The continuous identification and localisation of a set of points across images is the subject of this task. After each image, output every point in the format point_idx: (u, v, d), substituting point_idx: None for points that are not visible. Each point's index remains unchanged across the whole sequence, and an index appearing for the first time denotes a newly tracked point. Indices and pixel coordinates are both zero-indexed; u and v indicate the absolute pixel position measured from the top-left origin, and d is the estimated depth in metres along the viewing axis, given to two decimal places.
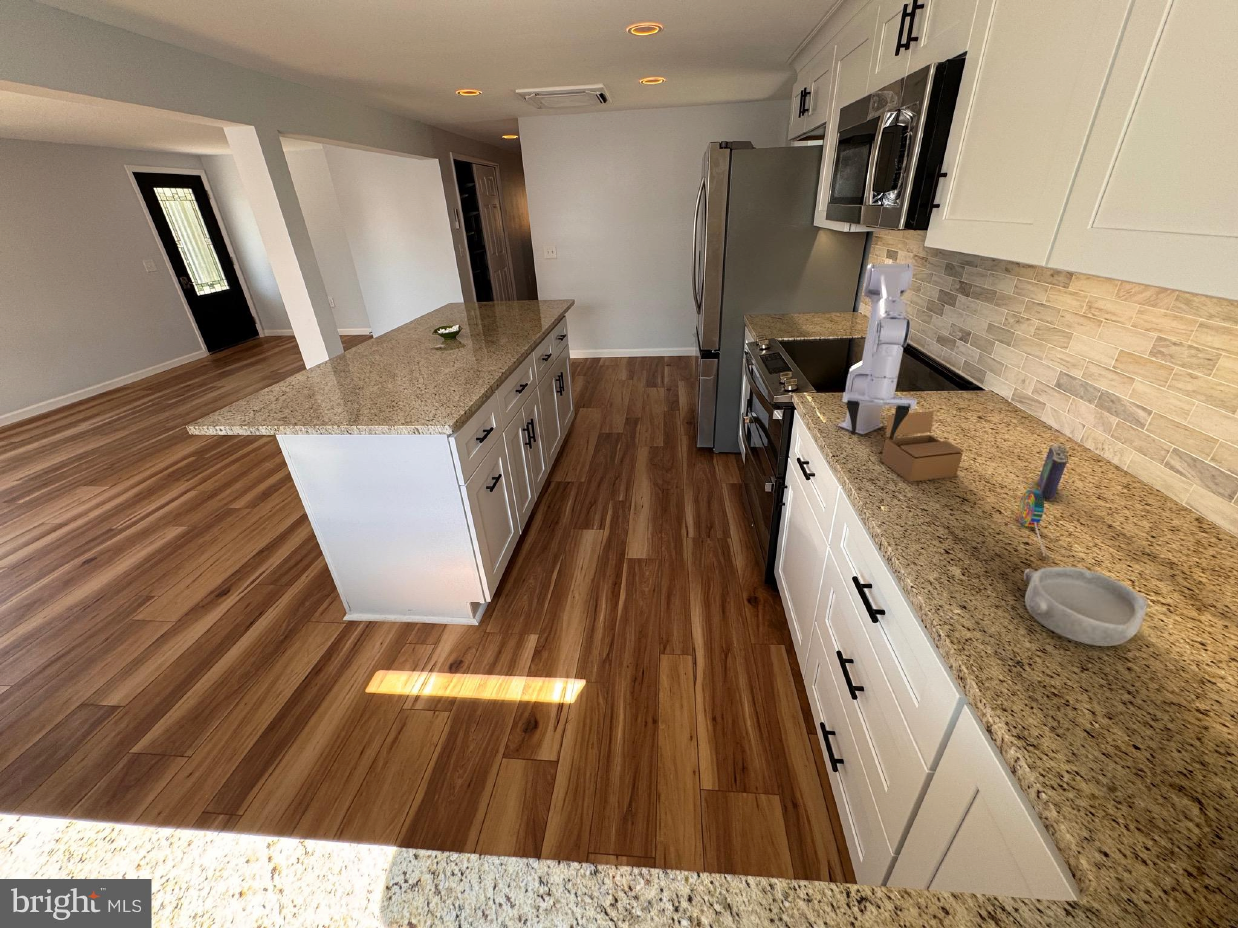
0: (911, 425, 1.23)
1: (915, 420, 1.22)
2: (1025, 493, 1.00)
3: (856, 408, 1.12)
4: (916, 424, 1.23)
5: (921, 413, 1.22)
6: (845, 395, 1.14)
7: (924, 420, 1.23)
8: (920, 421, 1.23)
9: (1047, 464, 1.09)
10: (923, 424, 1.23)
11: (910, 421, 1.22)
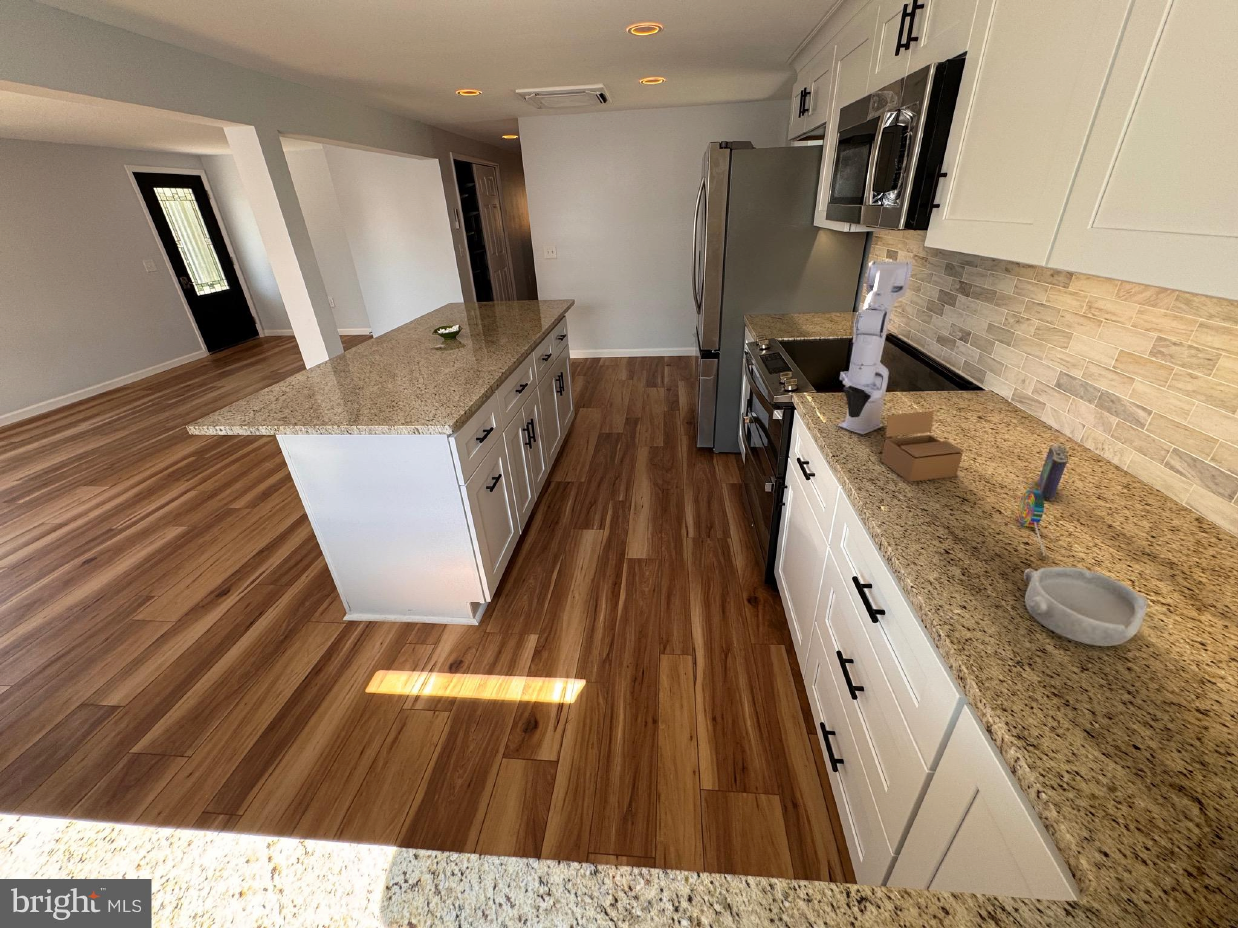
0: (911, 425, 1.23)
1: (915, 420, 1.22)
2: (1025, 493, 1.00)
3: (846, 391, 1.23)
4: (916, 424, 1.23)
5: (921, 413, 1.22)
6: (841, 374, 1.27)
7: (924, 420, 1.23)
8: (920, 421, 1.23)
9: (1047, 464, 1.09)
10: (923, 424, 1.23)
11: (910, 421, 1.22)
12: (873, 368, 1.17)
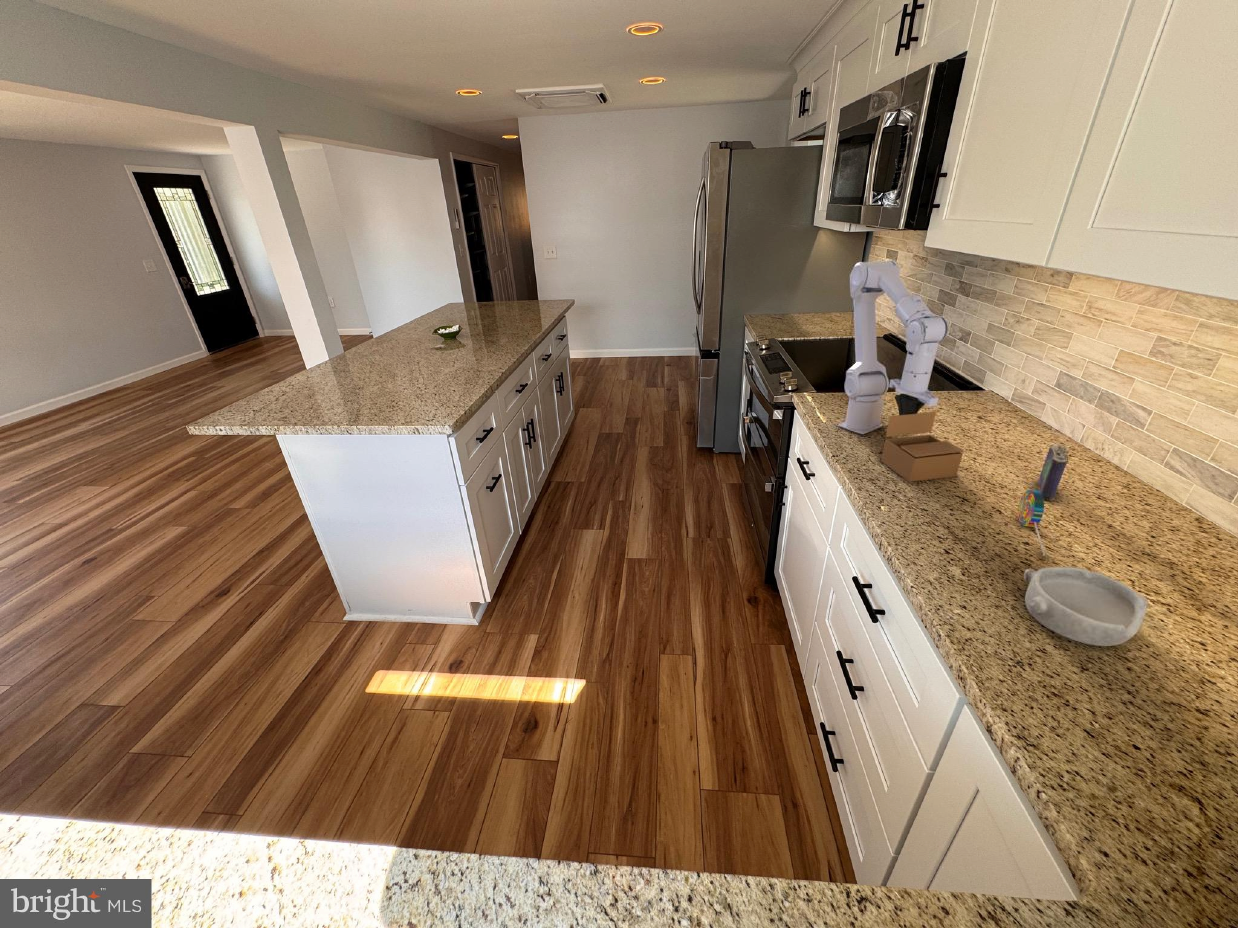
0: (912, 426, 1.22)
1: (916, 421, 1.22)
2: (1025, 493, 1.00)
3: (899, 399, 1.22)
4: (917, 425, 1.23)
5: (923, 414, 1.21)
6: (891, 381, 1.26)
7: (925, 421, 1.22)
8: (921, 422, 1.22)
9: (1048, 464, 1.09)
10: (924, 425, 1.23)
11: (911, 422, 1.22)
12: (928, 376, 1.16)
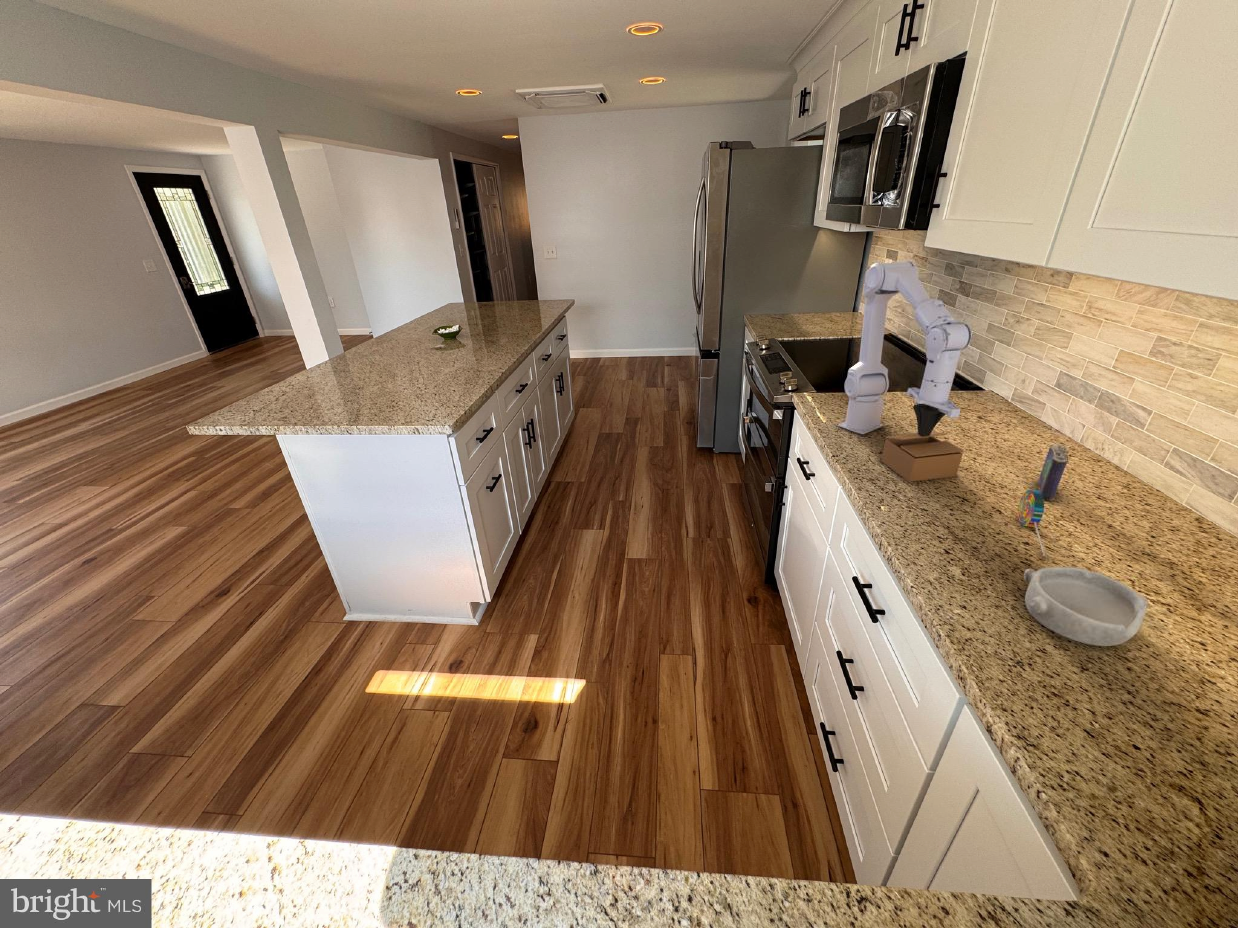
0: None
1: None
2: (1025, 493, 1.00)
3: (917, 409, 1.16)
4: None
5: None
6: (909, 390, 1.20)
7: None
8: None
9: (1047, 464, 1.09)
10: None
11: None
12: (949, 385, 1.10)
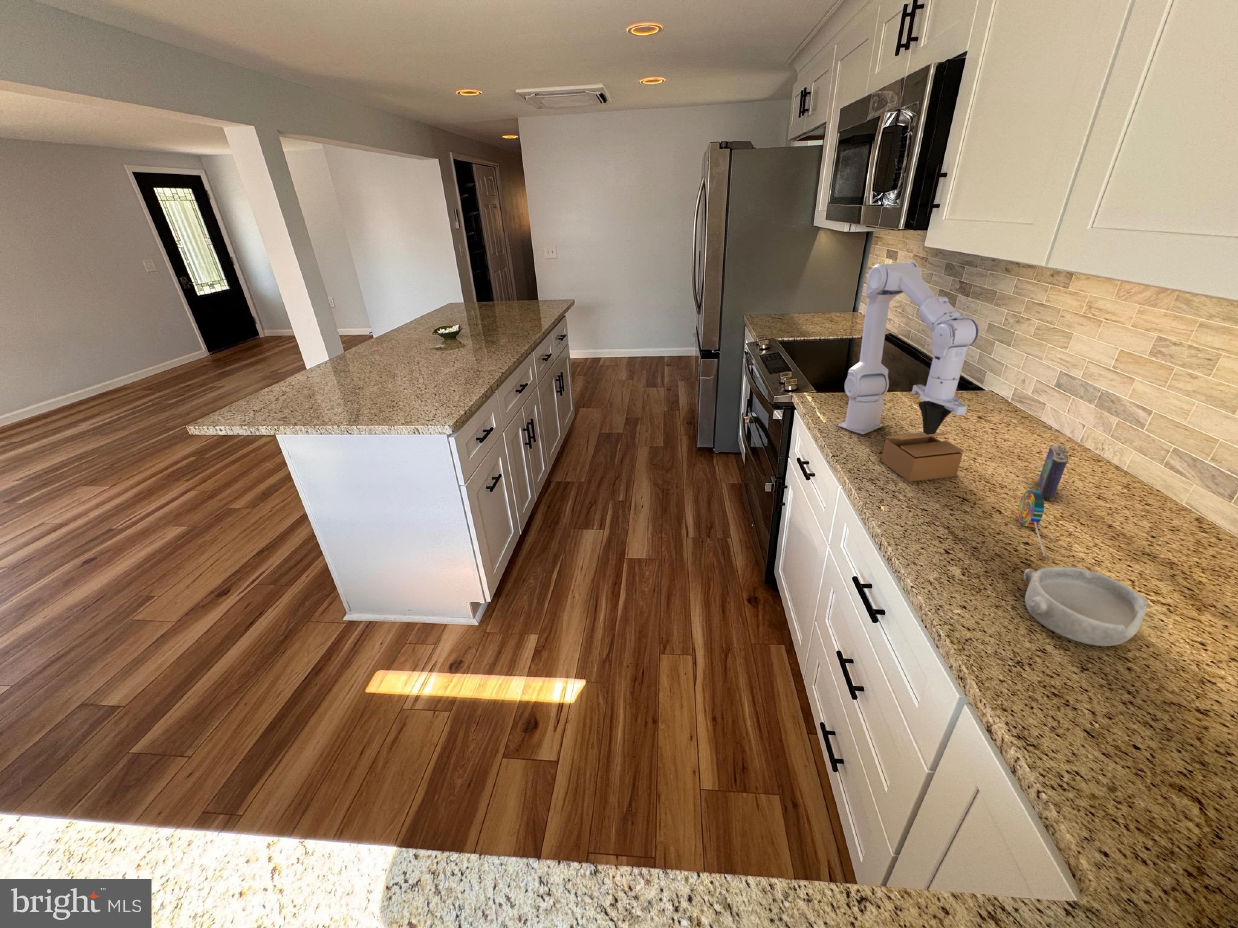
0: None
1: None
2: (1025, 493, 1.00)
3: (923, 406, 1.14)
4: None
5: None
6: (914, 387, 1.18)
7: None
8: None
9: (1047, 464, 1.09)
10: None
11: None
12: (956, 382, 1.08)
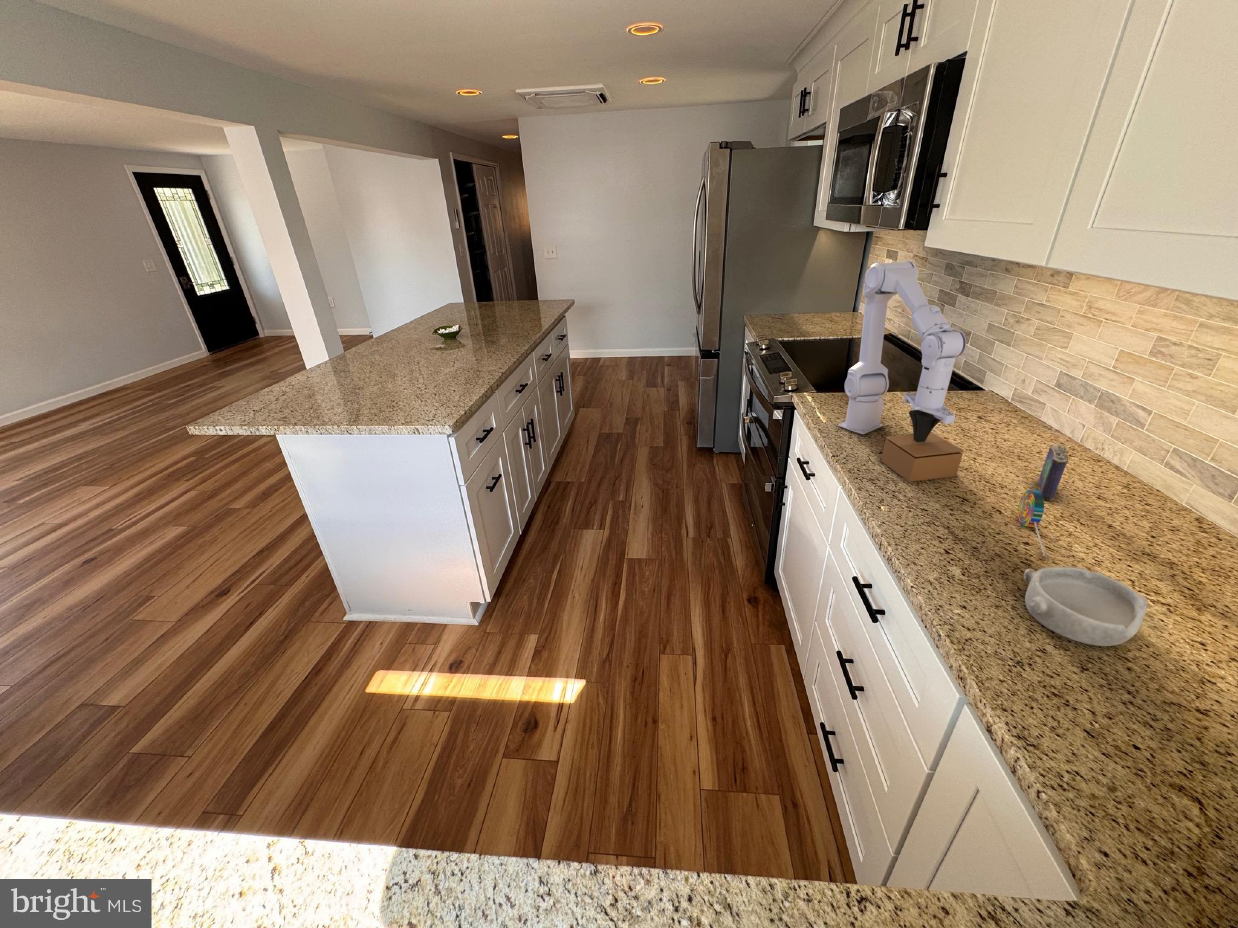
0: None
1: None
2: (1025, 493, 1.00)
3: (913, 415, 1.17)
4: None
5: None
6: (905, 396, 1.22)
7: None
8: None
9: (1047, 464, 1.09)
10: None
11: None
12: (944, 392, 1.12)
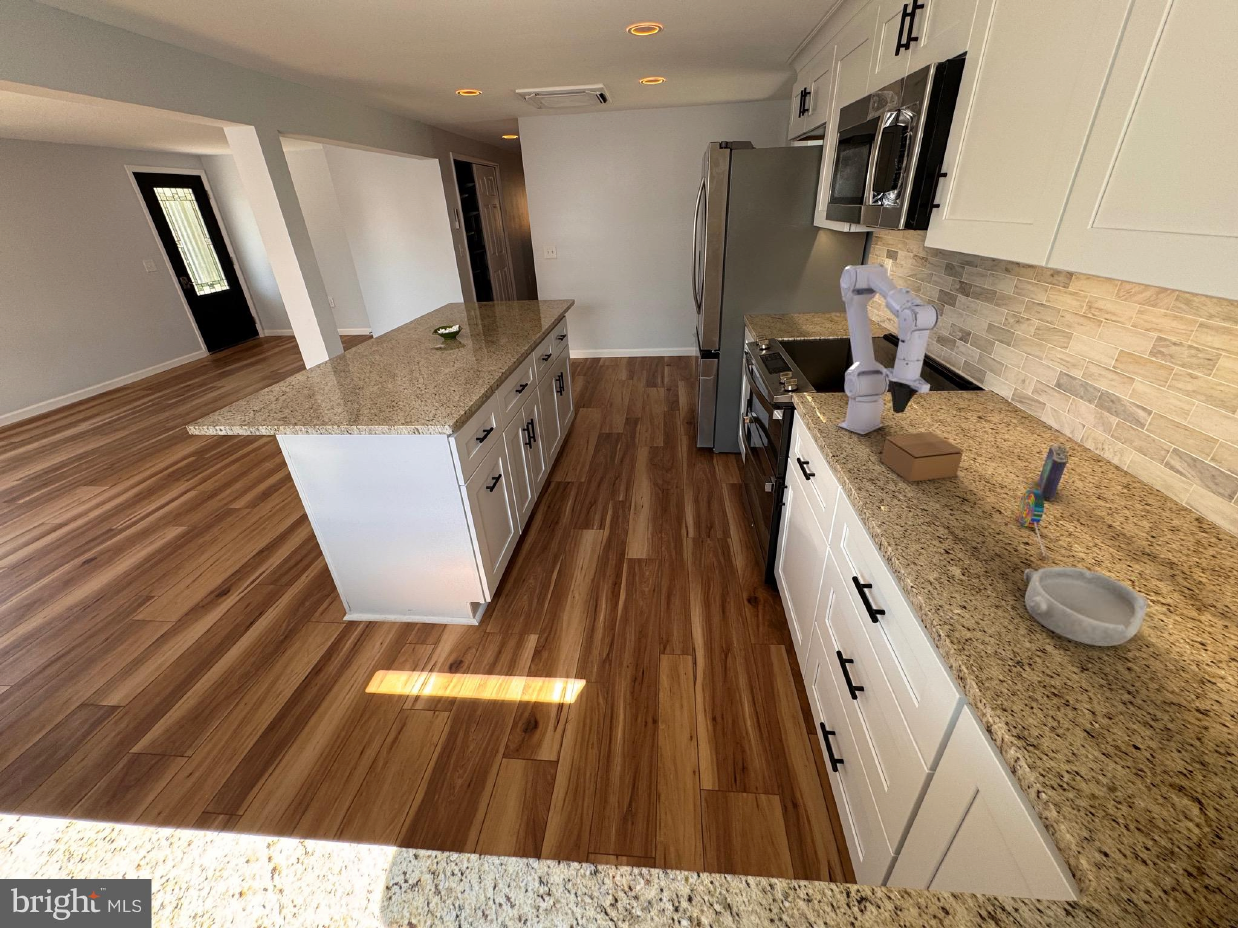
0: None
1: None
2: (1025, 493, 1.00)
3: (892, 387, 1.24)
4: None
5: None
6: (884, 370, 1.28)
7: None
8: None
9: (1047, 464, 1.09)
10: None
11: None
12: (920, 363, 1.18)
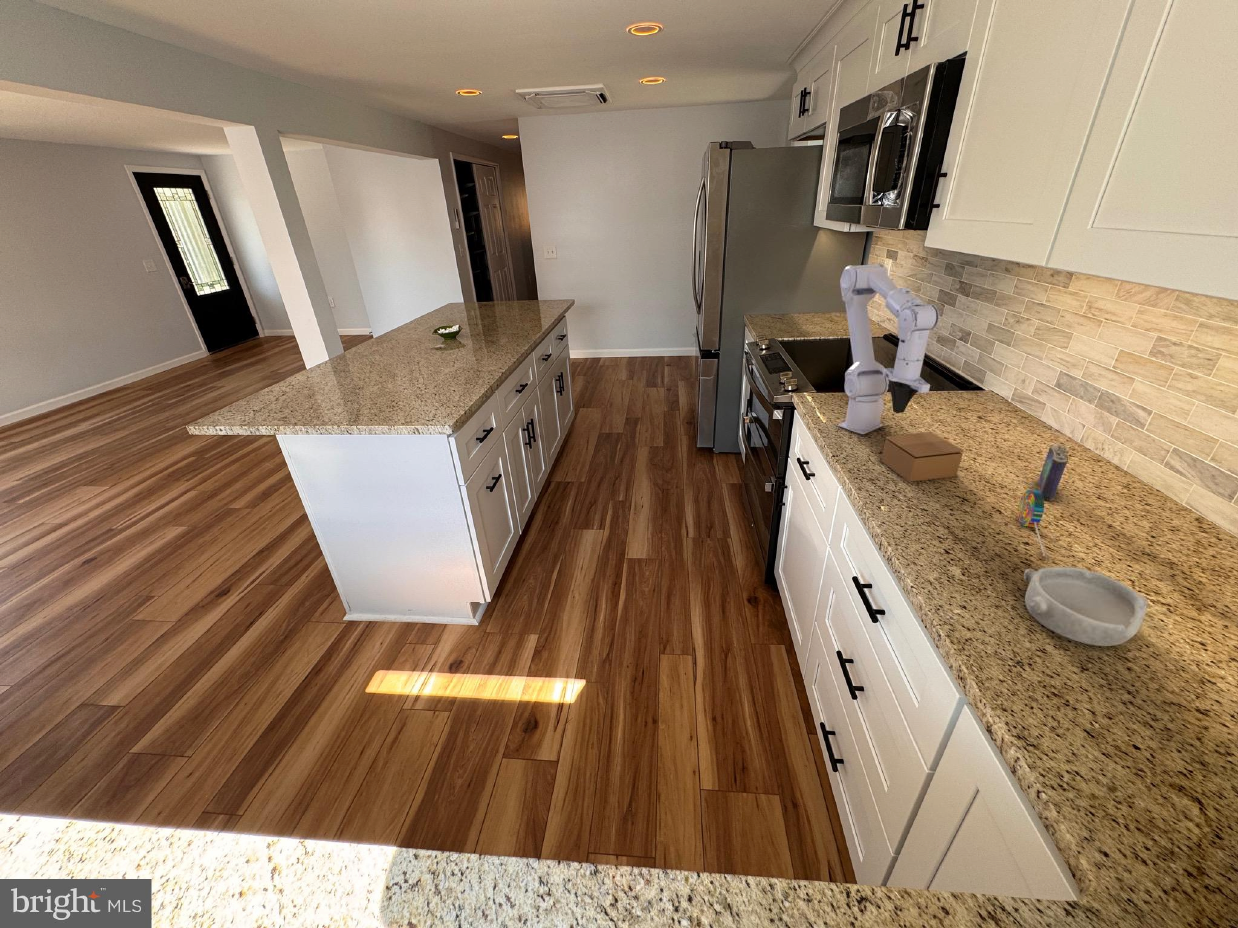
0: None
1: None
2: (1025, 493, 1.00)
3: (892, 387, 1.24)
4: None
5: None
6: (884, 370, 1.28)
7: None
8: None
9: (1047, 464, 1.09)
10: None
11: None
12: (920, 363, 1.18)
